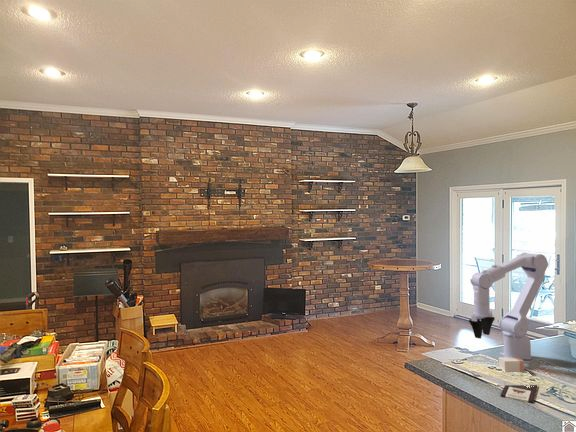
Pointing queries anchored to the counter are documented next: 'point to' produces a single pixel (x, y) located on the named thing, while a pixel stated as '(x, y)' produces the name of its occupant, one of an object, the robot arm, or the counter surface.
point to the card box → (511, 364)
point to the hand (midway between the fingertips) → (482, 336)
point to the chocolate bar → (519, 392)
